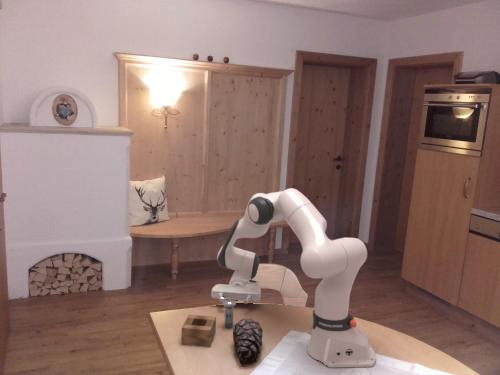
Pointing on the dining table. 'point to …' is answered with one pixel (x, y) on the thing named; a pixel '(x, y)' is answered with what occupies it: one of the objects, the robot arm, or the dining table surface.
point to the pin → (229, 312)
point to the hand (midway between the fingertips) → (233, 301)
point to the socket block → (199, 330)
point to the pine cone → (247, 341)
